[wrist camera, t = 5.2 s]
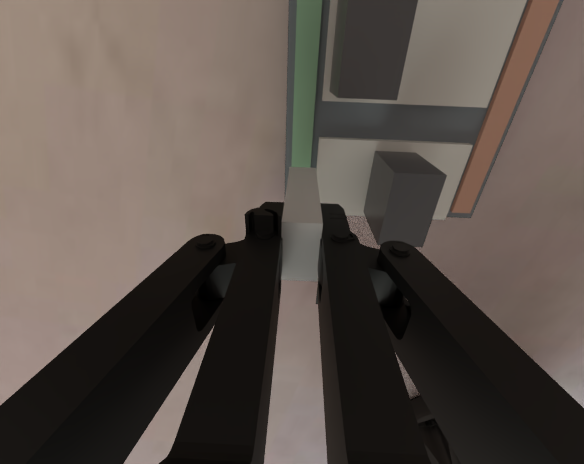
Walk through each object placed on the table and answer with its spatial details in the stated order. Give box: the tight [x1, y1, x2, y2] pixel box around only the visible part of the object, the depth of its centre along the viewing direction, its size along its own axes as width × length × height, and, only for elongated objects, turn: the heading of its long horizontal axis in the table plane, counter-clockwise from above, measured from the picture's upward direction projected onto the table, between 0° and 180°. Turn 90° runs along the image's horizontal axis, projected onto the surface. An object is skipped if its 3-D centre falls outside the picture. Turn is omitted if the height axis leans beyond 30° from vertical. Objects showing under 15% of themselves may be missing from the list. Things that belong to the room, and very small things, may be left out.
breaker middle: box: [329, 0, 418, 100], centre depth 12 cm, size 2×4×4 cm, turn 178°
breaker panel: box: [285, 0, 563, 220], centre depth 15 cm, size 13×19×2 cm
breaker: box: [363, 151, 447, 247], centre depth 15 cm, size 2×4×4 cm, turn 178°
